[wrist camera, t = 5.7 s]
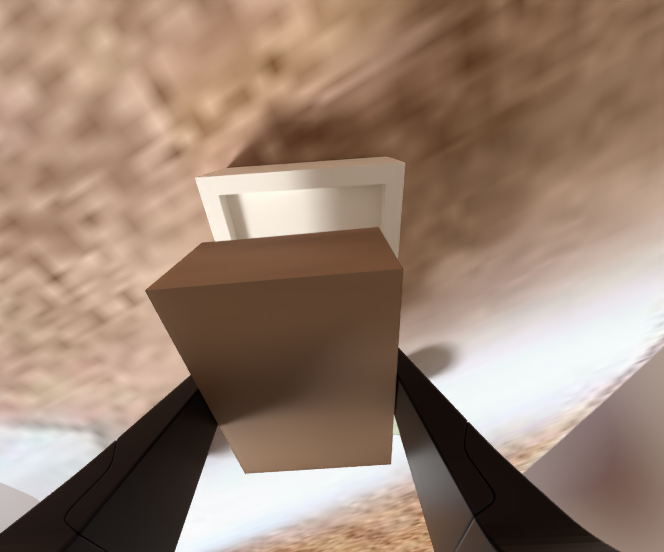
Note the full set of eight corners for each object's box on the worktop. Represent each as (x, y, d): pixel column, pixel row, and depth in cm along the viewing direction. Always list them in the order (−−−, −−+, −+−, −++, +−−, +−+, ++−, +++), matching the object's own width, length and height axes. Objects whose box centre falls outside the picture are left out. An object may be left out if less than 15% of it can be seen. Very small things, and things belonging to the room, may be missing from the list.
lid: (377, 396, 13) (391, 464, 10) (261, 405, 13) (245, 473, 10) (378, 227, 8) (403, 268, 6) (201, 242, 8) (145, 290, 6)
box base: (380, 323, 20) (390, 360, 16) (267, 329, 20) (255, 368, 17) (386, 156, 14) (405, 162, 10) (226, 168, 14) (194, 177, 11)
